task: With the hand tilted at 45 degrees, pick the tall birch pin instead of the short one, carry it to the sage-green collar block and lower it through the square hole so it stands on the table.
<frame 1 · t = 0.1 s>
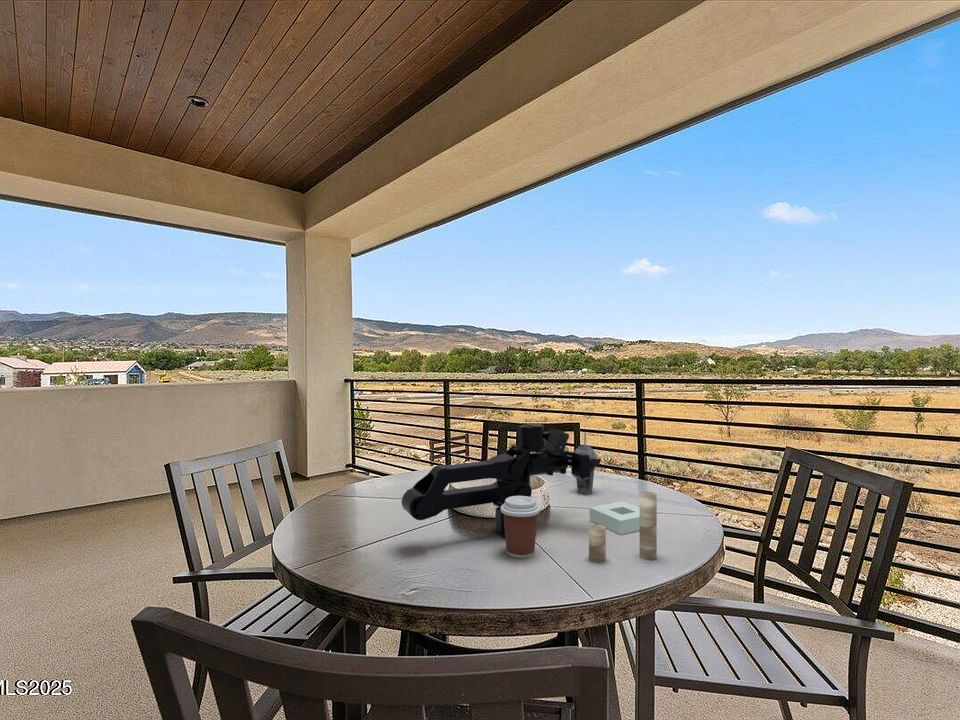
hand: (589, 457, 137), 17 cm above the table, tool horizontal, fingers open, 9 cm apart
coffee cup: (520, 553, 113), on the table
collar block: (622, 523, 132), on the table
short pin: (597, 559, 109), on the table
tall pin: (648, 556, 110), on the table
beverage cup: (584, 493, 161), on the table
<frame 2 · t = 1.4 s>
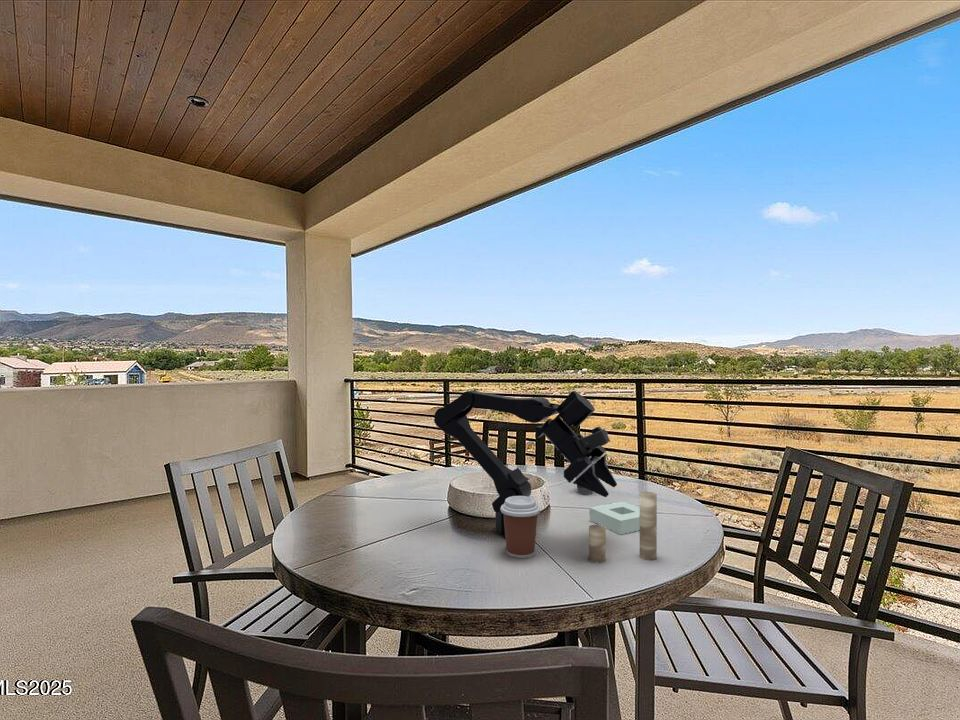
hand: (611, 490, 114), 14 cm above the table, tool tilted 45°, fingers open, 9 cm apart
nothing on the table moved.
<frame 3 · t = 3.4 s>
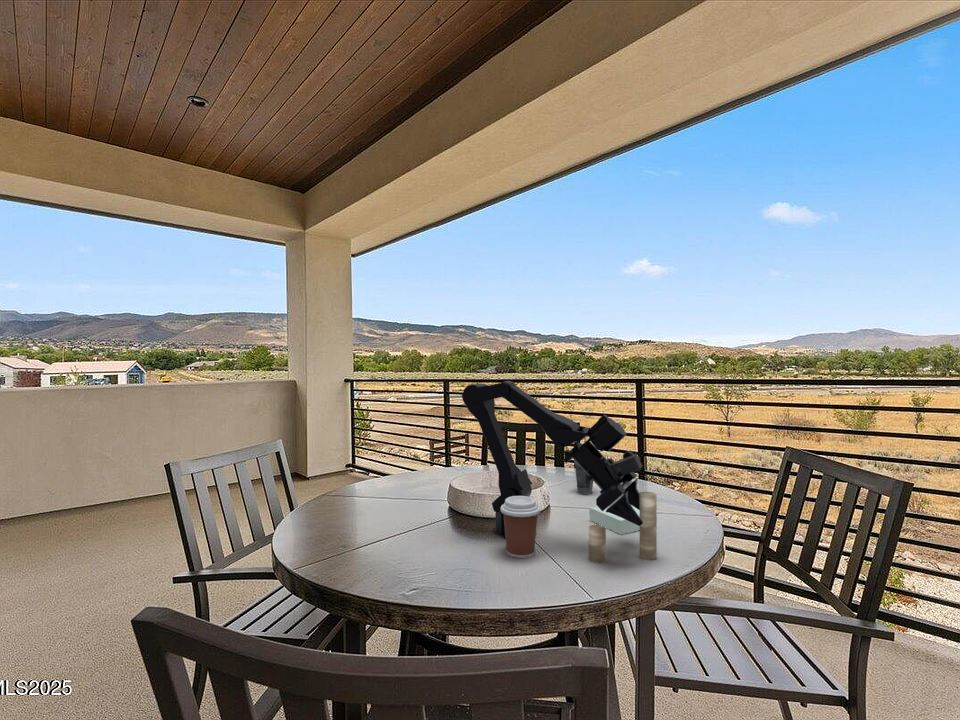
hand: (644, 518, 111), 8 cm above the table, tool tilted 45°, fingers open, 9 cm apart
nothing on the table moved.
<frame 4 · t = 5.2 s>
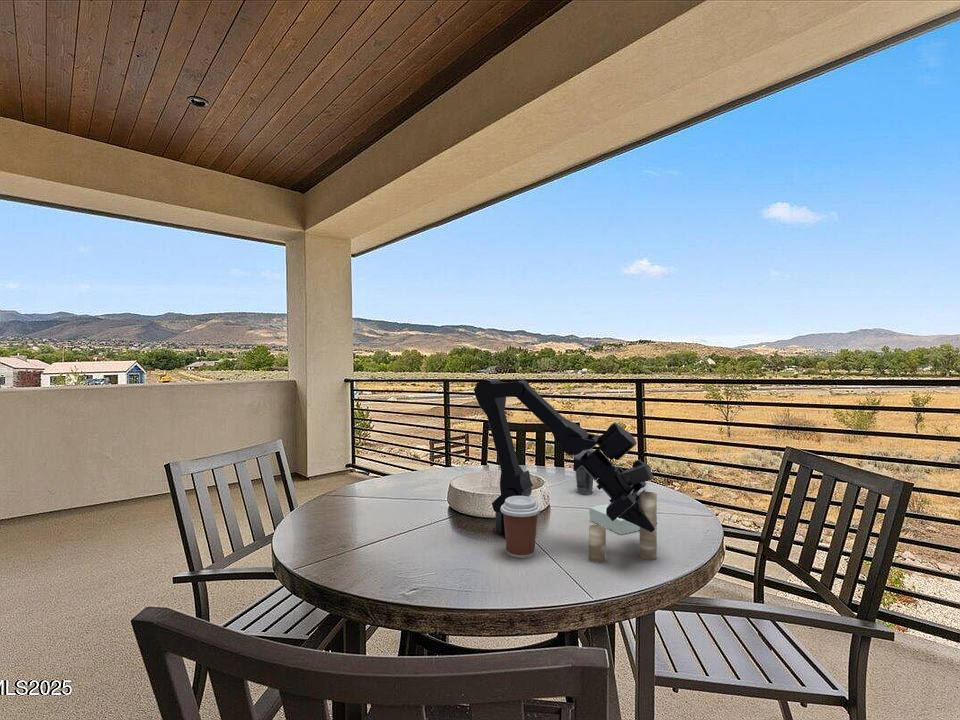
hand: (654, 527, 110), 7 cm above the table, tool tilted 45°, fingers closed on tall pin, 4 cm apart
tall pin: (648, 556, 110), on the table, touching gripper
everything else where it was.
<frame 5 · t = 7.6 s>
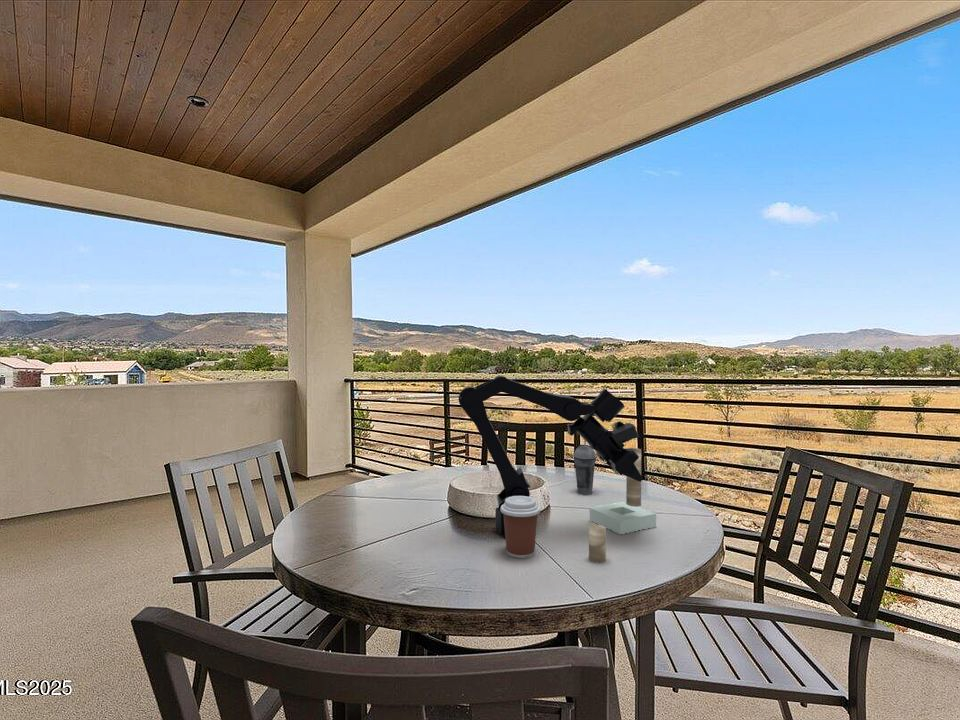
hand: (639, 478, 126), 13 cm above the table, tool tilted 45°, fingers closed on tall pin, 4 cm apart
tall pin: (633, 504, 126), point 7 cm above the table, touching gripper
everything else where it was.
when the fingers open (8 cm above the table, at t = 10.2 s): tall pin drops 1 cm, resting in collar block.
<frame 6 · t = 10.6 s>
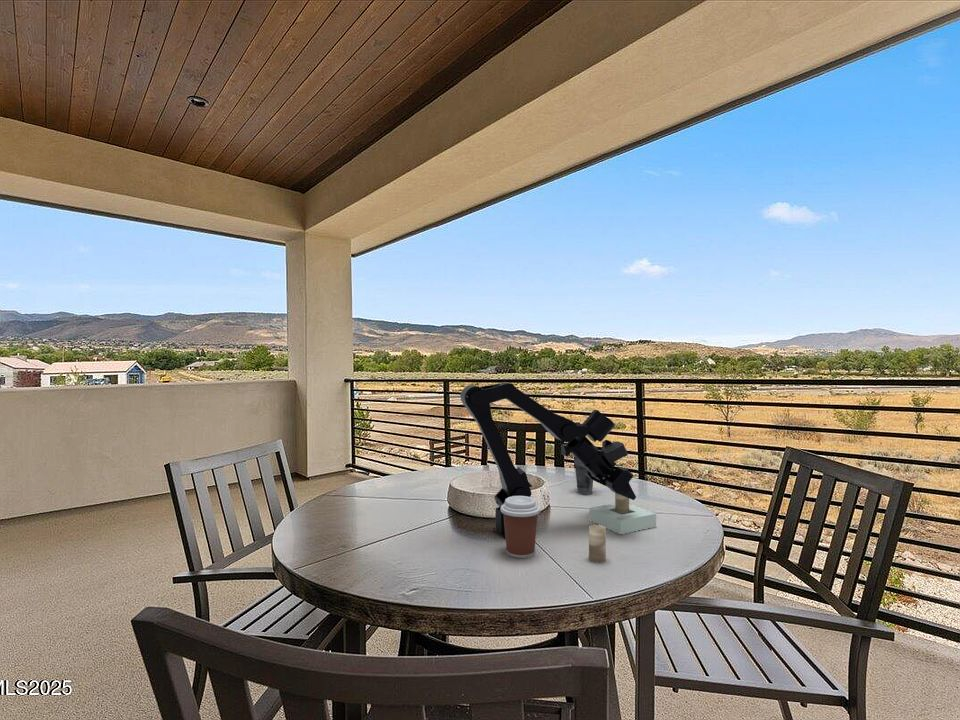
hand: (626, 494, 132), 8 cm above the table, tool tilted 45°, fingers open, 8 cm apart
tall pin: (622, 523, 132), resting in collar block
everything else where it was.
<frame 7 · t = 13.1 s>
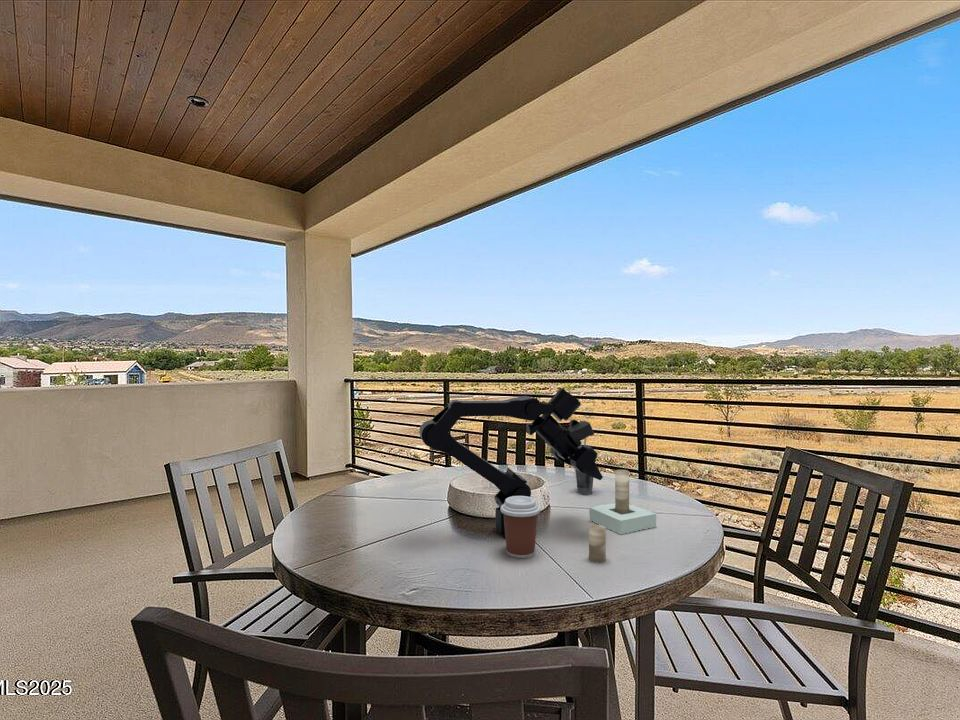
hand: (593, 474, 130), 14 cm above the table, tool tilted 45°, fingers open, 9 cm apart
nothing on the table moved.
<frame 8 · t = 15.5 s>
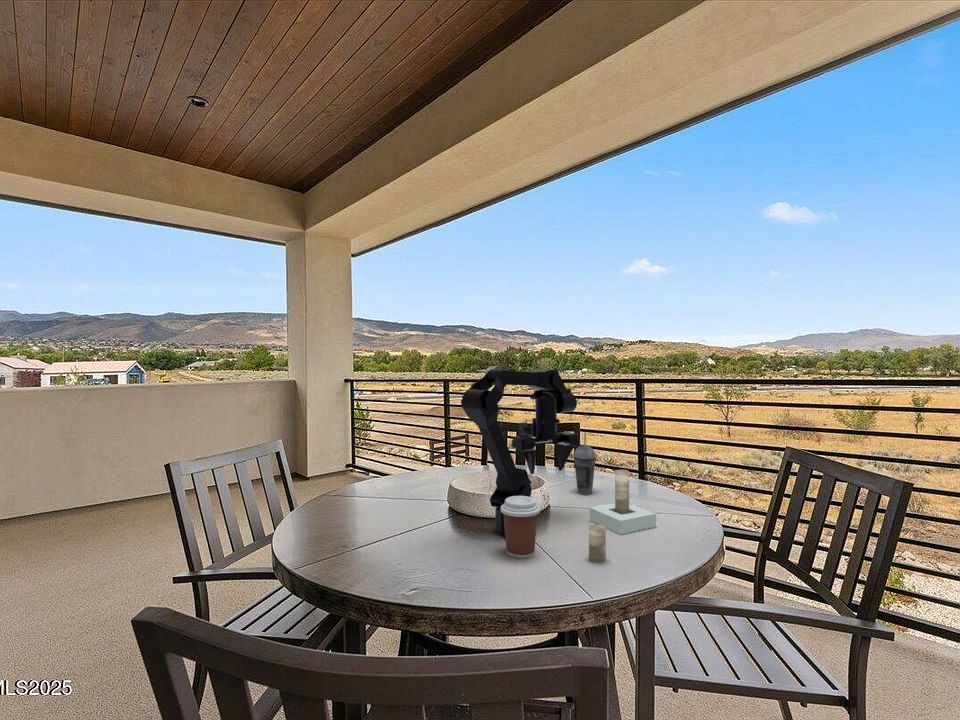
hand: (546, 472, 135), 13 cm above the table, tool pointing down, fingers open, 9 cm apart
nothing on the table moved.
at the end: tall pin 0.0 cm off-centre on the collar block, point 0.0 cm above the collar block's base; tall pin tilted 0°; short pin moved 0.0 cm from its start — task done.
